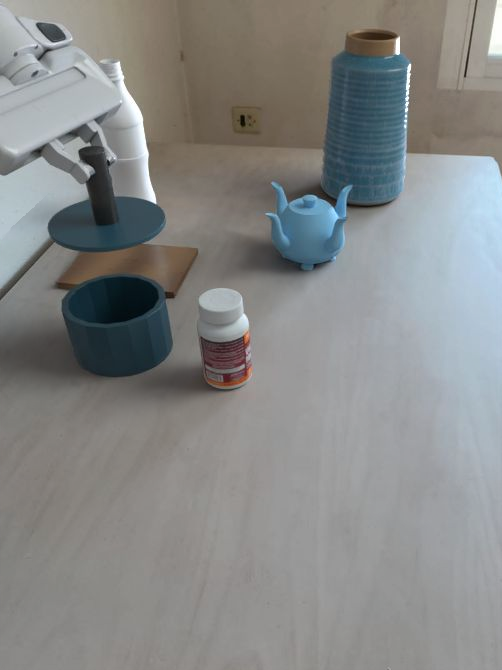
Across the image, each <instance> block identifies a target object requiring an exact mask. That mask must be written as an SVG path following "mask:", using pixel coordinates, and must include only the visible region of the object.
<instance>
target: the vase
mask: <svg viewBox="0 0 502 670" xmlns="http://www.w3.org/2000/svg"><path fill="white" fill-rule="evenodd" d="M400 39H401V37H400V35H399V33H398V32H394V31H391V30H387V29H381V28H380V29H379V28H358V29H353V30H352V29H351V30H349V31H347V32H346V34H345V40H344V49H342V50H340V51H339V52H338V53H336V54H335V55H333V57H332V58H331V60H330V70H329V72H330V74H329V83H328V84H329V85H328V97H327V109H326V119H325V132H324V133H325V134H324V140H323V149H322V152H323V154H322V165H321V177H320V186H321V189H322V191H323V192H324V193H325V194H326V195H327V196H328V197H330V198H332V199H333V200H335V201H337V200H338V197H339V194H340V192H341V191H342V190H343V189H344V188H345V187H346V186H349V185H353V187H352V188H351V190H350V191H349V193H348V195H347V199H346V205H347V204H348V205H351V206H359V207H370V206H371V207H372V206H373V207H374V206H379V205H383V204H384V205H385V204H387V203H389V202H391V201H394V200H395V199H397V198H399V197H400V196H401V195H402V194H403V193H404V190H405V176H406V165H407V160H406V159H407V158H406V157H407V147H408V144H407V141H408V138H407V137H408V124H409V122H408V120H409V108H410V107H409V104H410V87H411V83H410V82H411V70H412V63H411V60H410V59H409V58H407V56H405V54H403V52H401V51H400V44H401V43H400V42H401V41H400Z"/></svg>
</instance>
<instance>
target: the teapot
mask: <svg viewBox="0 0 502 670" xmlns="http://www.w3.org/2000/svg"><path fill="white" fill-rule="evenodd" d="M270 183H271V186H272V187H273V189H274V191H275V195H276V213H274V212H273V213H271V212H267V213H265V214H264V215H265V216H267V217H268V218H269V219H270V223H271V226H270V227H271V228H270V237H271V238H270V239H271V241H272V243H273V244H274V246H275V248H276V250H277V251H278V252H279V253H280V254H281V256H282V258H284V259H288V260H289V261H292V262H295V263H298V264H301V265H300V266H301V267H300V269H302V270H304V271H312V270H313V269H314V268H315V266H314V265H315V264H322V263H326V262H328V261H329V262H333V261H336V259H337V255H338V254H339V253H340V252H341V251H342V250H343V248H344V247H345V244H346V239H345V237H346V236H345V230H344V226H345V222H346V221H348V220H349V217H347V204H346V199H347V195H348V193H349V191H350V190H351V188H352V187H353V185H349V186H346V187H345V188H344V189H343V190H342V191H341V192H340V194H339V197H338V200H336V204H335V207H333V206H332V204H330V202H328V201H326V200H324V199H322V198H319V197H317V196H316V195H314V194H305V195H303V196H302V197H300V198H296V199H294V200H292V201H290V202H289V203H288V201H287V200H288V199H287V197H286V194H285V191H284V189H283V187H282V186H281V185H280V184H279V183H277V182H275V181H271V182H270Z"/></svg>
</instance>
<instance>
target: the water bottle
mask: <svg viewBox="0 0 502 670" xmlns="http://www.w3.org/2000/svg"><path fill="white" fill-rule="evenodd" d="M99 67H100V68H101V70H102V71H103V72H104V73H105V74H106V75H107V76H108V78H109V79H110V80H111V81H112V82H113V84H114V85H115V86H116V87H117V89H118V90H119V92H120V95H121V99H122V105H121V106H120V108H119V109H118V111H117V112H116V114H115V115H114V116H113V118H112V119H111V120H110V121H108V122H106V123H104V124H102V125H100V127H101V129H102V131H103V134H104V137H105V140H106V142H107V146H108V147H109V148H110V149H111V151H112V152H113V153H114V154H115V155H116V157H117V161H116V163H115V164H114V165H113V166H112V167H111V168H109V172H110V177H111V181H112V186H113V191H114V195H115V196H125V197H135V198H140V199H144V200H148V201H150V202H153V203H155V204H156V205H157V199H156V193H155V191H154V189H153V185H152V183H151V177H150V171H149V156H150V153H149V149H148V146H147V140H146V135H145V129H144V123H143V122H144V118H143V114H142V111H141V110H140V108H139V106H138V105H137V103H136V101H135V100H134V98H133V97H132V96H131V94H130V92H129V91H128V89H127V87H126V85H125V82H124V80H125V76H124V74H123V71H122V67H121V61H120V59H116V58H104V59H100V60H99Z"/></svg>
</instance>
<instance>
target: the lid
mask: <svg viewBox="0 0 502 670" xmlns="http://www.w3.org/2000/svg"><path fill="white" fill-rule="evenodd" d="M77 154H78V159H79V161H81V160H82V159H85V160H86V161H87V162H88V163H89V165H90V166H91V167H93V168H94V170H95V175H94V176H93V177H92V179H91V180H89V181H88V182H86V183H85V186H86V190H87V195H88V199H85V200H82V201H79V202H78V201H77V202H75V203H73V204H70V205H68V206H66V207H64V208H62V209H60V210H59V211H57V212H56V213H55V214H53V216H51V218H50V219H49V221H48V223H47V232H48V235H49V238H50V239H51V240H52V241H53V242H54V243H55V244H57V245H58V246H60V247H62V248H65V249H68V250H71V251H76V252H80V253H82V252H110V251H117V250H123V249H127V248H131V247H134V246H137V245H140V244H146V242H149V241H150V240H153V239H154V238H156V237H157V236H159V234H160V233H161V232H163V230H164V228H165V226H166V222H167V218H166V213H165V211H164V209H162V207H160V205H158V204H157V203H156V204H155V203H153V202H150V201H148V200H144V199H140V198H135V197H125V196H115V195H114V191H113V182H112V177H111V174H110V170H109V167H108V163H107V158H106V153H105V149H104V148H103V147H100V146H91V145H88V146H84V147H81V148H79V149H78V150H77Z"/></svg>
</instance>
